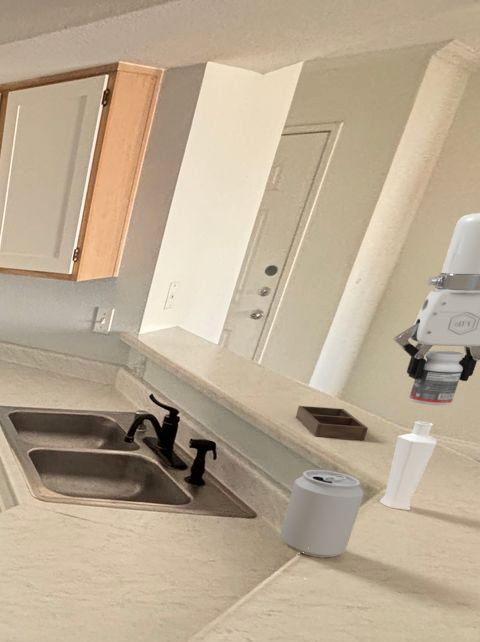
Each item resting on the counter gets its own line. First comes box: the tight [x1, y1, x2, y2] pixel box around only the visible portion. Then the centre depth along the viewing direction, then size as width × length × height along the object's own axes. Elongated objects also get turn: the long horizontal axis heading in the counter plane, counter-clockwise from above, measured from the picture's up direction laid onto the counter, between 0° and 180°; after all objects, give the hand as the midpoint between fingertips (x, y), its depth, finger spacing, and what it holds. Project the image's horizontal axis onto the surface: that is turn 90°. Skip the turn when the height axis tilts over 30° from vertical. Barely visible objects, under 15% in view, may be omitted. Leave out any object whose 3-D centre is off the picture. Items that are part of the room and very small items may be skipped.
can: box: [279, 469, 365, 559], centre depth 88 cm, size 8×8×12 cm
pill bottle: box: [408, 350, 465, 406], centre depth 114 cm, size 6×6×10 cm
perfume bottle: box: [379, 420, 438, 511], centre depth 99 cm, size 5×4×15 cm
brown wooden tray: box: [295, 405, 369, 441], centre depth 139 cm, size 8×16×3 cm, turn 151°
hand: (437, 377), depth 114 cm, fingers closed on pill bottle, 5 cm apart
